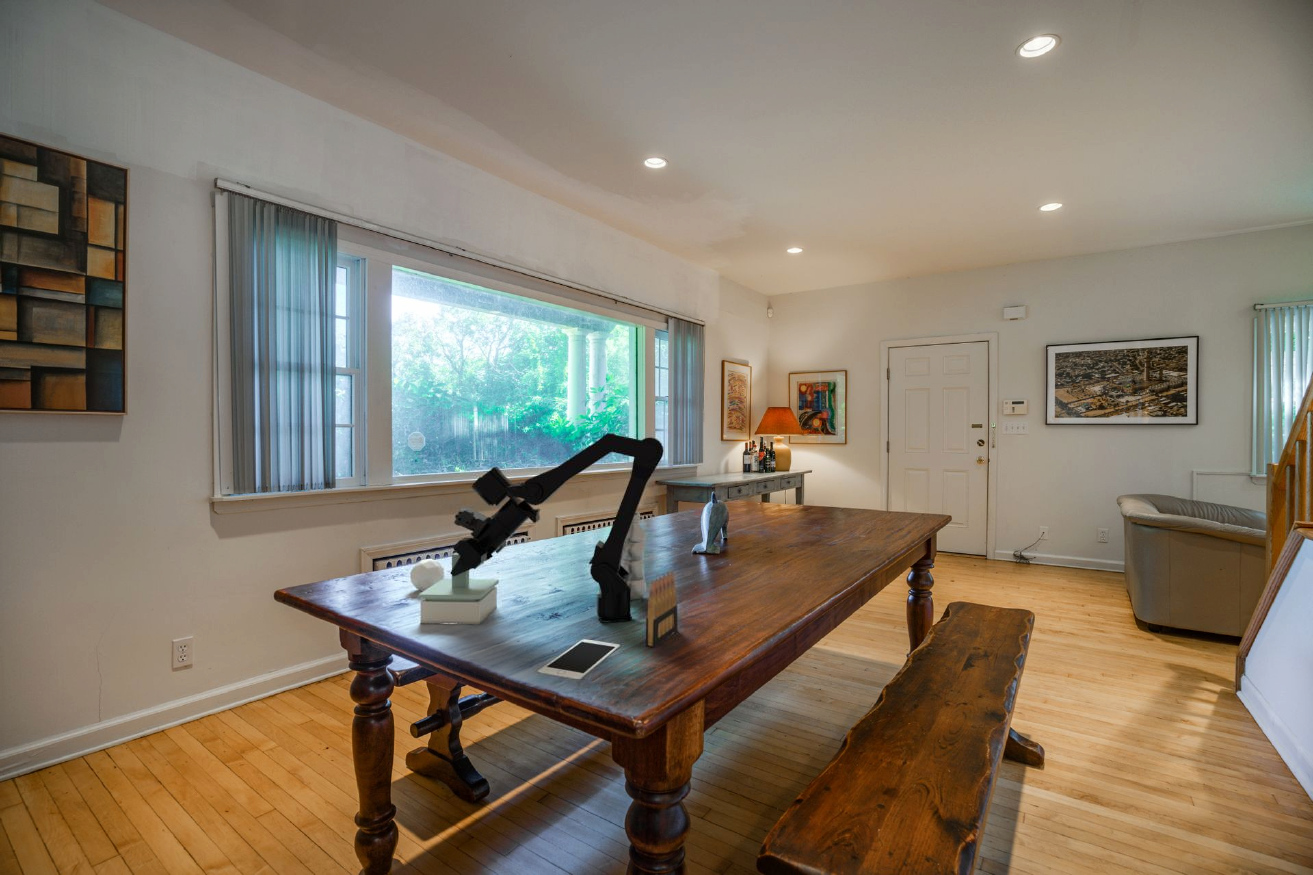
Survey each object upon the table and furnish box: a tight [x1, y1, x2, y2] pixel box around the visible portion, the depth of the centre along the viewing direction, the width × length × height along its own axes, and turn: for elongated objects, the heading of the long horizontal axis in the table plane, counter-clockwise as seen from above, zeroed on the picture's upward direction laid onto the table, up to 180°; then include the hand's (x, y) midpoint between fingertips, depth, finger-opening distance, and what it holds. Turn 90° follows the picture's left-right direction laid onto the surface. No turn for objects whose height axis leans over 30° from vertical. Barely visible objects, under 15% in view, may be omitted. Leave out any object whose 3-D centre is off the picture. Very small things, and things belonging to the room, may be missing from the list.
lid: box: [418, 552, 499, 602], centre depth 125 cm, size 13×13×9 cm
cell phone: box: [537, 638, 621, 681], centre depth 102 cm, size 8×16×1 cm, turn 159°
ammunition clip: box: [645, 570, 678, 648], centre depth 112 cm, size 11×2×12 cm, turn 155°
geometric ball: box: [409, 558, 445, 592], centre depth 144 cm, size 8×8×8 cm
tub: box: [420, 586, 498, 626], centre depth 125 cm, size 12×12×4 cm
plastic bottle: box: [621, 512, 647, 601], centre depth 138 cm, size 6×7×20 cm
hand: (454, 573), depth 125 cm, fingers closed on lid
